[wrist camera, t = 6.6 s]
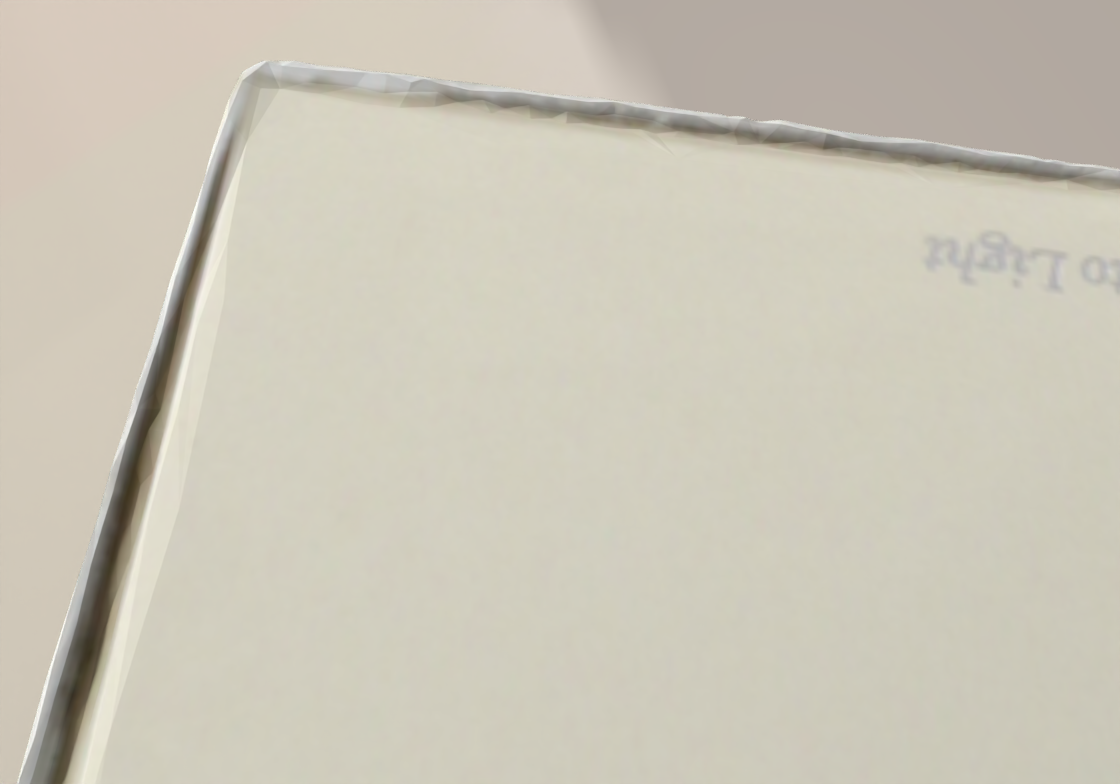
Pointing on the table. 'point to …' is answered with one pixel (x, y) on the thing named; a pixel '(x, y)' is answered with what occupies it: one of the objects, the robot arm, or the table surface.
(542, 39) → the table surface
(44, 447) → the table surface
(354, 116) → the skincare box
